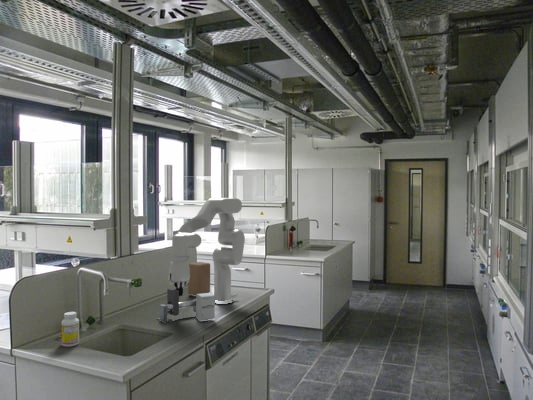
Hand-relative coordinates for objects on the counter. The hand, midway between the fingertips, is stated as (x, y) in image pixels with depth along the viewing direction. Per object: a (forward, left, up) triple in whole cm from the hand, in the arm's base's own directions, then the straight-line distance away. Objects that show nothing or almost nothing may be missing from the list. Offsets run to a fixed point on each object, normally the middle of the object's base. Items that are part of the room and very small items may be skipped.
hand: (179, 295), depth 220 cm
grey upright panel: (+4, 0, -9) cm, 10 cm away
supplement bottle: (+54, +7, -11) cm, 56 cm away
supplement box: (-8, +12, -11) cm, 18 cm away
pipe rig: (-1, 0, -11) cm, 11 cm away
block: (-33, -34, -11) cm, 49 cm away
